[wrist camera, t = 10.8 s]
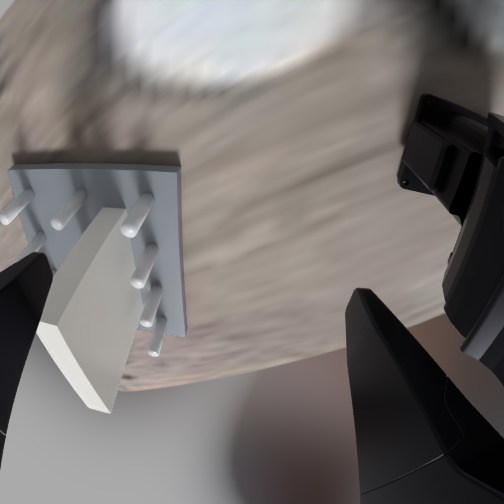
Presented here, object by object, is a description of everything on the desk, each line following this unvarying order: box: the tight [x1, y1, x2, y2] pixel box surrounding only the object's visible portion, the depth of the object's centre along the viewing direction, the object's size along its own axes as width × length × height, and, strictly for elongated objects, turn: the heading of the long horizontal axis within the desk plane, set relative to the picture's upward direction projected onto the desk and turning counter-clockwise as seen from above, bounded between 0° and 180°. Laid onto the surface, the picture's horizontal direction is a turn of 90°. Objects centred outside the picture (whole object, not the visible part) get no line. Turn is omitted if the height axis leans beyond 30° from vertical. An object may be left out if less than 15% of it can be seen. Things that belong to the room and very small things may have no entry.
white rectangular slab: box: [36, 207, 143, 414], centre depth 19 cm, size 2×10×10 cm, turn 174°
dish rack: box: [0, 163, 187, 357], centre depth 22 cm, size 14×16×4 cm
